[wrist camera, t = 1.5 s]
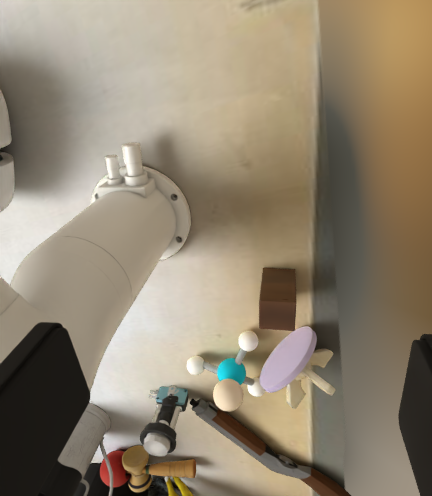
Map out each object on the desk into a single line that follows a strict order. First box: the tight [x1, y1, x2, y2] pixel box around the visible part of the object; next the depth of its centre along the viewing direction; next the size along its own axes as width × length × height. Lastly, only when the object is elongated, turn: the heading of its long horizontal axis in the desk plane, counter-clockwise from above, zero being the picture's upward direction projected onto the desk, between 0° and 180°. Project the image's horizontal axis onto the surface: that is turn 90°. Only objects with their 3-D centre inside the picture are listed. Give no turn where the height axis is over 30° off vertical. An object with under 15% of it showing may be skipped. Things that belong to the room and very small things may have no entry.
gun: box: [190, 399, 351, 496], centre depth 62 cm, size 2×34×7 cm
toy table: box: [260, 326, 335, 409], centre depth 48 cm, size 10×9×6 cm
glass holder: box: [38, 403, 113, 496], centre depth 62 cm, size 9×14×15 cm, turn 54°
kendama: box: [100, 445, 196, 492], centre depth 68 cm, size 8×6×18 cm
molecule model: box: [187, 331, 266, 411], centre depth 50 cm, size 12×12×9 cm
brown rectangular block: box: [259, 268, 296, 331], centre depth 44 cm, size 4×4×7 cm
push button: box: [140, 386, 188, 456], centre depth 56 cm, size 7×5×10 cm
